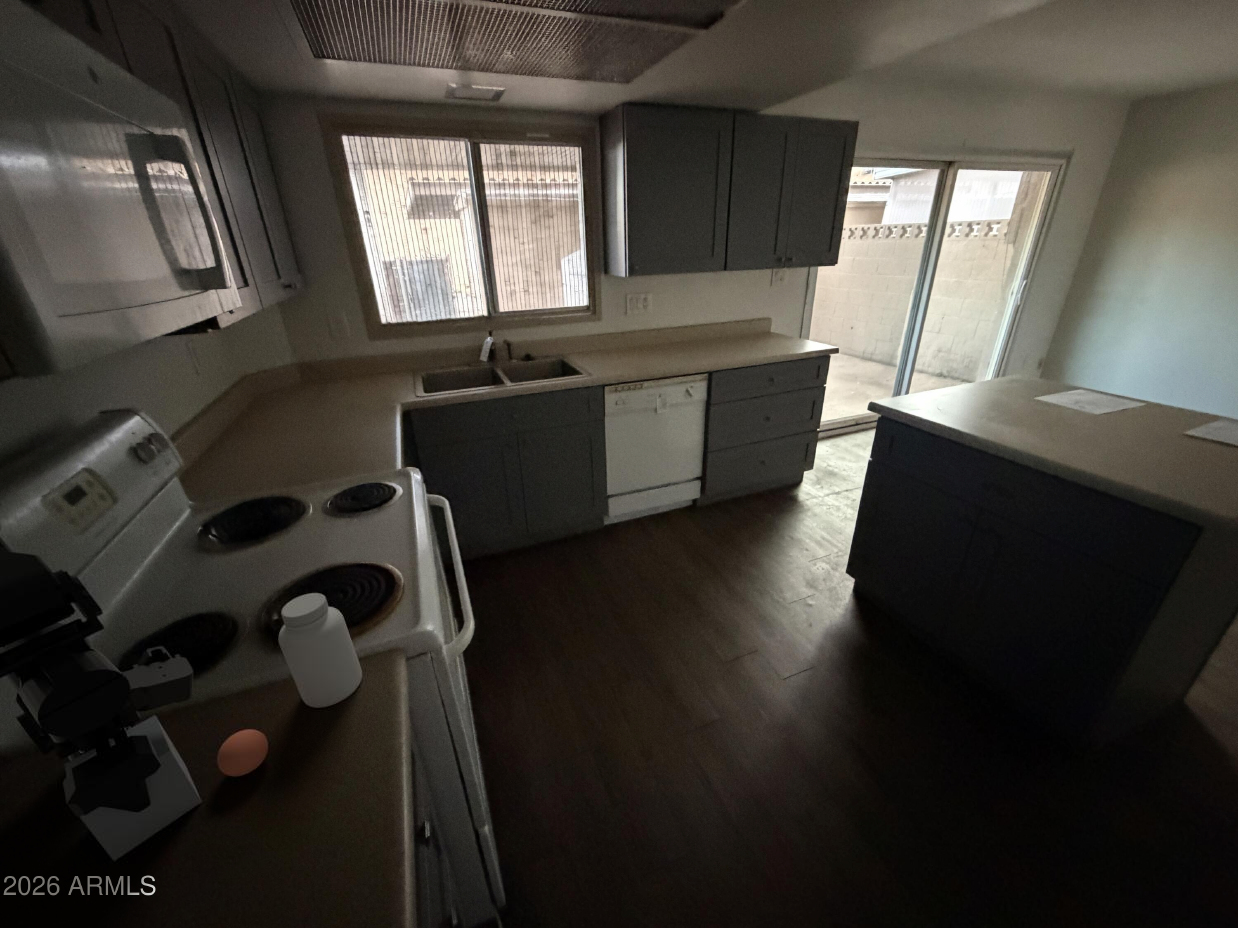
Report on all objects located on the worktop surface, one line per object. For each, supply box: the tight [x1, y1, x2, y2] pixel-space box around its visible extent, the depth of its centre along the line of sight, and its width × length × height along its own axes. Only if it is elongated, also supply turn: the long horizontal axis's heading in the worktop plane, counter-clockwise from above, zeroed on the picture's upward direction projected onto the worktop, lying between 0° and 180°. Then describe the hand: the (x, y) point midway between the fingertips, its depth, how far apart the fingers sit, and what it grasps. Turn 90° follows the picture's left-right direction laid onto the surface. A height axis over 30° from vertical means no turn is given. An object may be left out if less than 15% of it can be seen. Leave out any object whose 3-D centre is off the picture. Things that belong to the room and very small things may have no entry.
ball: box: [216, 729, 269, 777], centre depth 61 cm, size 5×5×5 cm
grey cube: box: [64, 715, 203, 862], centre depth 56 cm, size 8×8×9 cm
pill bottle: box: [278, 592, 363, 709], centre depth 70 cm, size 8×8×15 cm
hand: (137, 785), depth 56 cm, fingers closed on grey cube, 8 cm apart
